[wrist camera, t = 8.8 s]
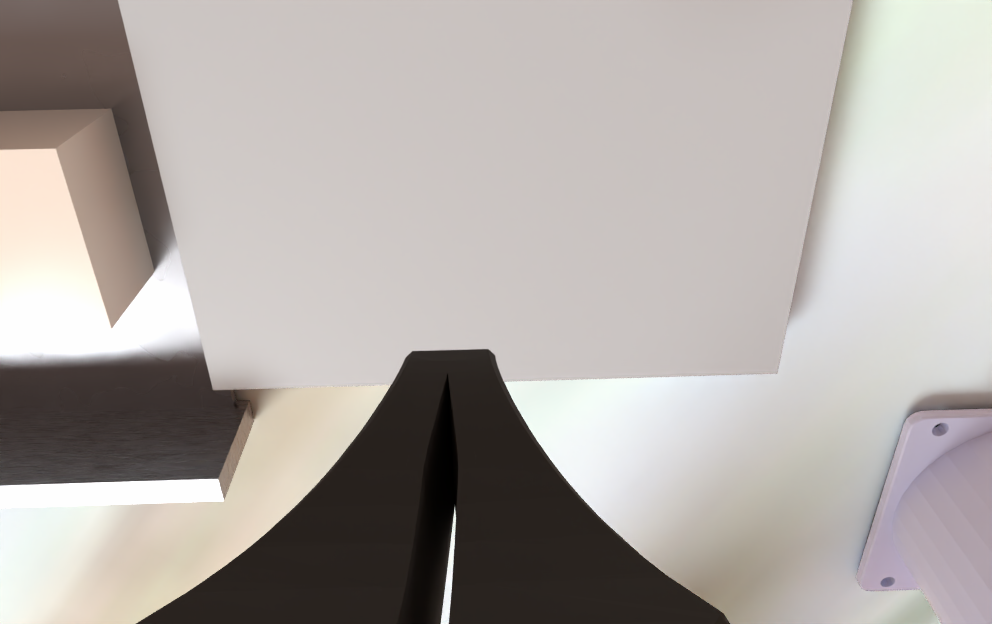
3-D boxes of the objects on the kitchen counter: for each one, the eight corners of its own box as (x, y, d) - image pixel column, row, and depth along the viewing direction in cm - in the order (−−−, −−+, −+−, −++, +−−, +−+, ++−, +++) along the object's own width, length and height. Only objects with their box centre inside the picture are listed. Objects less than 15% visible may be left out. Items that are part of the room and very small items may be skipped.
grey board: (834, -57, 18) (863, -50, 17) (760, 344, 24) (777, 373, 22) (135, -43, 18) (109, -34, 16) (227, 360, 23) (212, 390, 22)
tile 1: (111, 108, 19) (55, 148, 17) (154, 271, 21) (111, 329, 19) (-75, 113, 19) (-160, 153, 17) (-12, 276, 21) (-78, 334, 19)
